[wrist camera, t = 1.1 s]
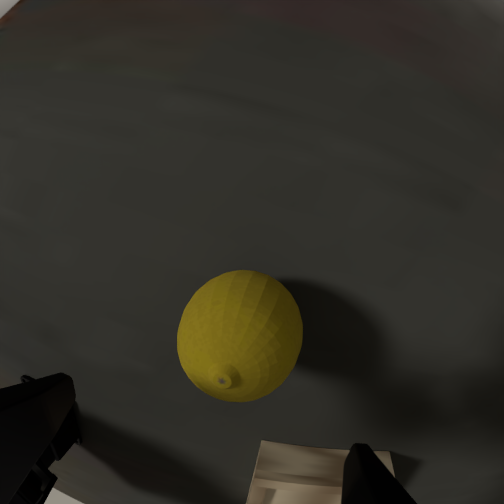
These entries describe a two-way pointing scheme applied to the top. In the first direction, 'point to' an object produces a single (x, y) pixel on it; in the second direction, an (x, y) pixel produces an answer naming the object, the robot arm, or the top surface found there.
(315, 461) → the wooden serving tray
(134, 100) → the top surface
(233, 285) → the lemon
